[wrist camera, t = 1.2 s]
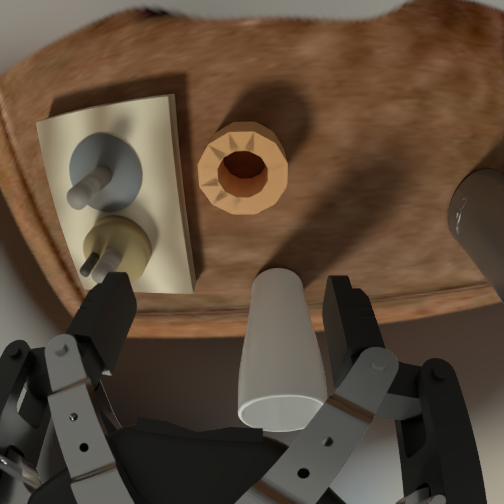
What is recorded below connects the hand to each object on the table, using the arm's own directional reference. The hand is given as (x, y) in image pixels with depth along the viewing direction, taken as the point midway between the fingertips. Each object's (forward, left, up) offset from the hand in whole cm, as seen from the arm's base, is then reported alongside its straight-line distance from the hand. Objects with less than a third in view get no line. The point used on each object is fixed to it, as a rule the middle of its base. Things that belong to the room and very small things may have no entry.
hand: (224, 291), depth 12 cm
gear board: (+12, +3, -16) cm, 20 cm away
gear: (0, 0, -16) cm, 16 cm away
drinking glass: (-3, +13, -16) cm, 21 cm away
